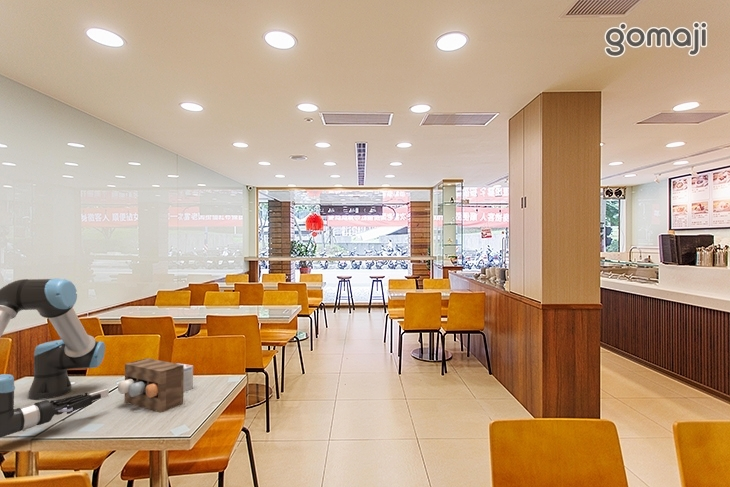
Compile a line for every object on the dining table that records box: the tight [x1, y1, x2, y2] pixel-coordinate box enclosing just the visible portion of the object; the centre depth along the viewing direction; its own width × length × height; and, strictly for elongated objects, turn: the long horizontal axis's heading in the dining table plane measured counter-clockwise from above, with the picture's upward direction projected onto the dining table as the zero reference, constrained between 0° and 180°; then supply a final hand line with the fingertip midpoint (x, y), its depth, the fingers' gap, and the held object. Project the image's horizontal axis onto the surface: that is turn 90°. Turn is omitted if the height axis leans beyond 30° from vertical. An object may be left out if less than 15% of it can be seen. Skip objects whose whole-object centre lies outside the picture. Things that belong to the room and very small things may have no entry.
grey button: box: [128, 381, 147, 397], centre depth 159 cm, size 5×8×5 cm, turn 153°
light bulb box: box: [175, 362, 194, 393], centre depth 180 cm, size 11×7×11 cm, turn 67°
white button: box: [117, 379, 136, 395], centre depth 162 cm, size 5×8×5 cm, turn 153°
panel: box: [124, 357, 184, 413], centre depth 163 cm, size 24×10×16 cm, turn 63°
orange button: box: [145, 383, 158, 398], centre depth 158 cm, size 5×8×5 cm, turn 153°
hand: (107, 392), depth 153 cm, fingers closed
